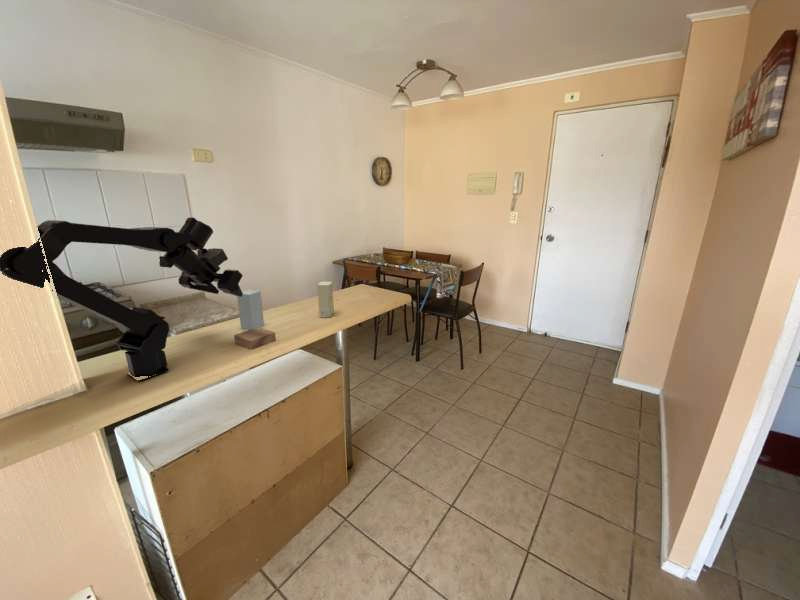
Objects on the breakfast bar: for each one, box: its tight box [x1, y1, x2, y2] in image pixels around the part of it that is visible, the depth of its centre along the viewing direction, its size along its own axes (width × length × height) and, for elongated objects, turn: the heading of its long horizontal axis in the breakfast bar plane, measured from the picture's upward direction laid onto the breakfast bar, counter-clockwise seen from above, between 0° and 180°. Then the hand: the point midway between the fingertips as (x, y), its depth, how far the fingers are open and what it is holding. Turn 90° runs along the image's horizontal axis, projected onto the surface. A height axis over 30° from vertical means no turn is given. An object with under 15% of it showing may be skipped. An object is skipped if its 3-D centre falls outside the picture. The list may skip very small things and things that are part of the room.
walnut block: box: [233, 327, 277, 350], centre depth 98 cm, size 8×8×3 cm
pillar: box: [236, 289, 265, 331], centre depth 109 cm, size 5×5×12 cm
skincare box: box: [316, 281, 335, 318], centre depth 122 cm, size 6×4×12 cm
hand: (229, 294), depth 100 cm, fingers open, 9 cm apart
